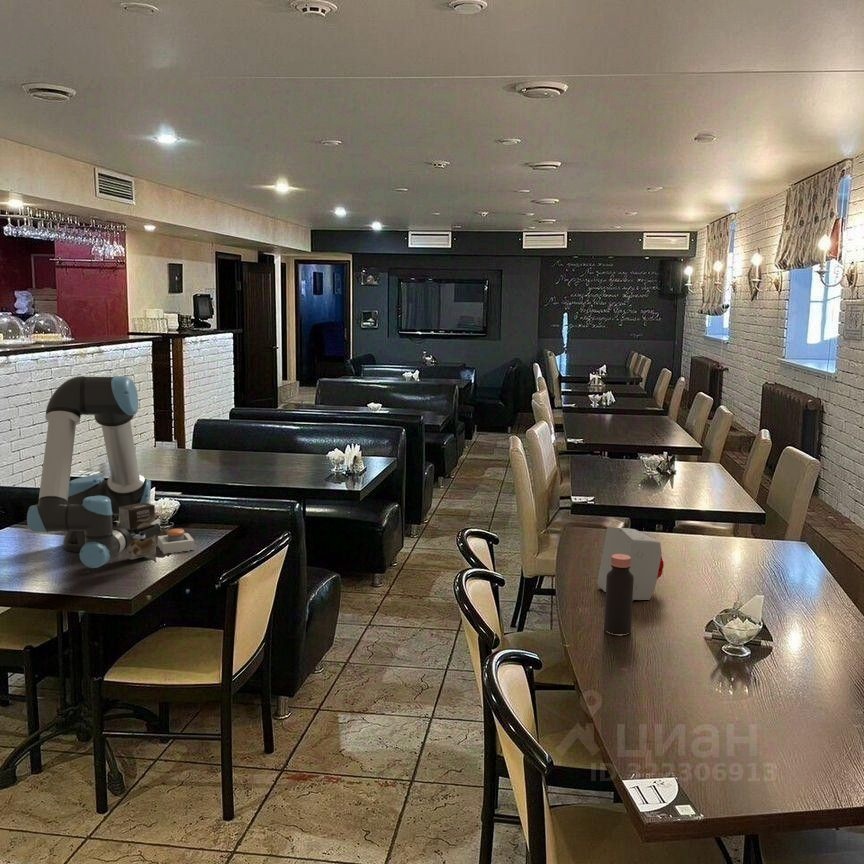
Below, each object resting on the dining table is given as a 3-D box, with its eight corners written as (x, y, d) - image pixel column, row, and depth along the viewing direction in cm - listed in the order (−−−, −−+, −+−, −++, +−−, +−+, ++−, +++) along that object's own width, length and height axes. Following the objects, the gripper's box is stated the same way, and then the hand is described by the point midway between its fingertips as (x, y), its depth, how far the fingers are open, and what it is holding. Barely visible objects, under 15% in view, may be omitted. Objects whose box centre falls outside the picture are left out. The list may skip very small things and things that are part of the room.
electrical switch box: (666, 607, 245) (679, 539, 243) (620, 604, 240) (633, 535, 238) (639, 590, 259) (652, 526, 257) (596, 587, 254) (608, 521, 252)
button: (165, 545, 287) (165, 529, 287) (182, 543, 290) (182, 528, 289) (169, 549, 282) (168, 534, 282) (186, 547, 285) (185, 532, 284)
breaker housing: (158, 546, 288) (157, 536, 288) (188, 542, 293) (188, 532, 292) (163, 554, 280) (163, 544, 279) (194, 550, 284) (194, 540, 284)
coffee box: (132, 560, 268) (130, 510, 266) (119, 556, 272) (117, 507, 270) (156, 553, 276) (155, 504, 273) (144, 549, 279) (142, 501, 277)
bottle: (605, 625, 225) (608, 551, 222) (631, 628, 223) (635, 554, 220) (602, 634, 219) (606, 559, 215) (629, 638, 217) (633, 561, 214)
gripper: (77, 552, 256) (108, 532, 278) (151, 554, 255) (177, 534, 277) (76, 528, 255) (107, 510, 277) (150, 530, 254) (176, 512, 276)
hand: (142, 522), depth 277 cm, fingers closed on coffee box, 10 cm apart
